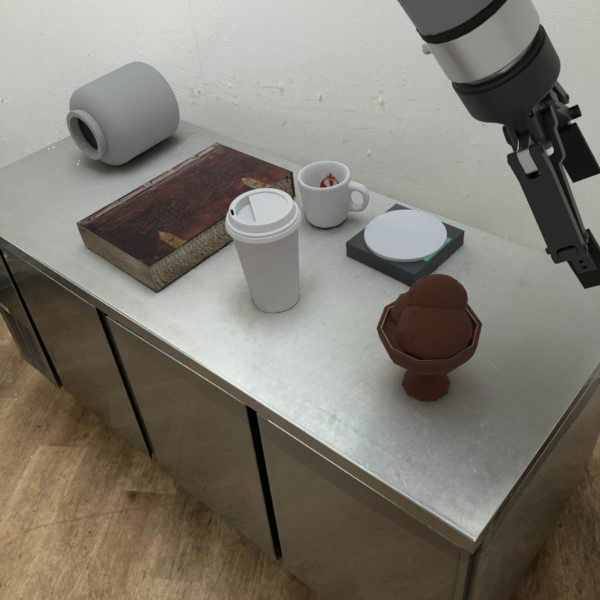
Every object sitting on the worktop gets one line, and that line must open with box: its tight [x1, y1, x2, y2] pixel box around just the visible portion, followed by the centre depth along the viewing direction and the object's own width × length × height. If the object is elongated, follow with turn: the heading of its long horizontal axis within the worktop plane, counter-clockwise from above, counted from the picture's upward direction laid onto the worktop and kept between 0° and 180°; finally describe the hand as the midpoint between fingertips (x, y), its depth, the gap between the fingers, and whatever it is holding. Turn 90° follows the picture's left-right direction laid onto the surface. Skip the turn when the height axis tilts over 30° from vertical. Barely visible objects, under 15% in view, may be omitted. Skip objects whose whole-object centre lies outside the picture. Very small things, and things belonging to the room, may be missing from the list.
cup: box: [296, 160, 370, 229], centre depth 98 cm, size 11×8×8 cm
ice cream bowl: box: [376, 273, 483, 402], centre depth 70 cm, size 11×11×15 cm
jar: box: [47, 60, 196, 166], centre depth 117 cm, size 19×15×25 cm
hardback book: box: [76, 142, 297, 292], centre depth 102 cm, size 29×19×5 cm, turn 137°
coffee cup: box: [225, 188, 303, 314], centre depth 84 cm, size 10×10×15 cm
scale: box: [345, 203, 465, 287], centre depth 93 cm, size 12×12×3 cm
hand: (593, 225), depth 61 cm, fingers open, 13 cm apart
